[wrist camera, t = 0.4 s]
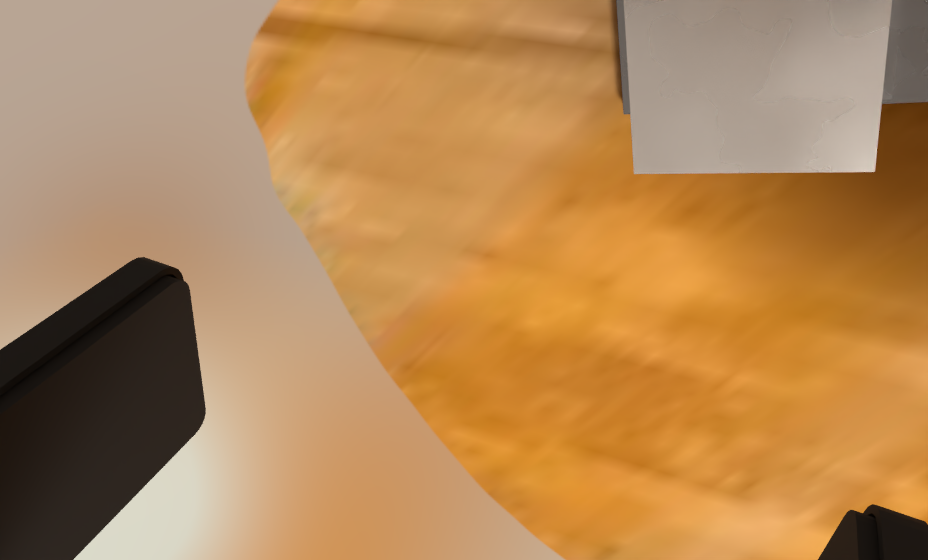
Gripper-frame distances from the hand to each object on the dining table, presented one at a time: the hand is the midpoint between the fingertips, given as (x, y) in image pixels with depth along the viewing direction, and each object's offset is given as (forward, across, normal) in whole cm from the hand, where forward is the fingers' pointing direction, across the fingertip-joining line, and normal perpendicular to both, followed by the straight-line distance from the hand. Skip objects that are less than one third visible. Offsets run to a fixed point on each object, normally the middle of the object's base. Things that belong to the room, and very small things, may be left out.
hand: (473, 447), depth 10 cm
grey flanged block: (+25, -2, -2) cm, 26 cm away
